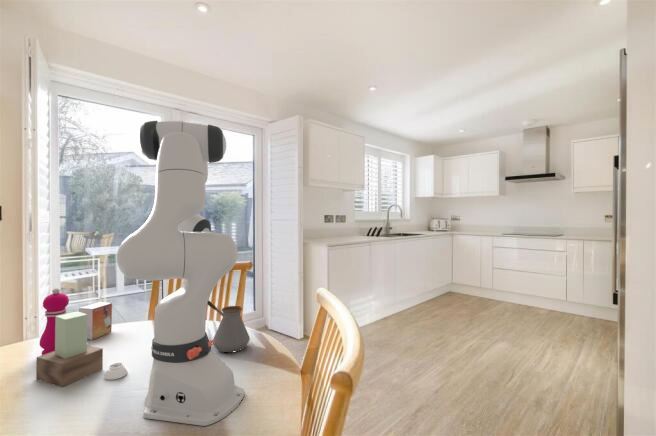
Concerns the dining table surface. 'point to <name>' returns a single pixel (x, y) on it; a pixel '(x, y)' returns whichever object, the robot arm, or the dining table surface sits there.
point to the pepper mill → (52, 318)
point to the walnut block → (68, 366)
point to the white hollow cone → (115, 371)
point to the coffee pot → (230, 330)
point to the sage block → (70, 334)
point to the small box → (98, 319)
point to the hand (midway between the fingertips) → (132, 254)
